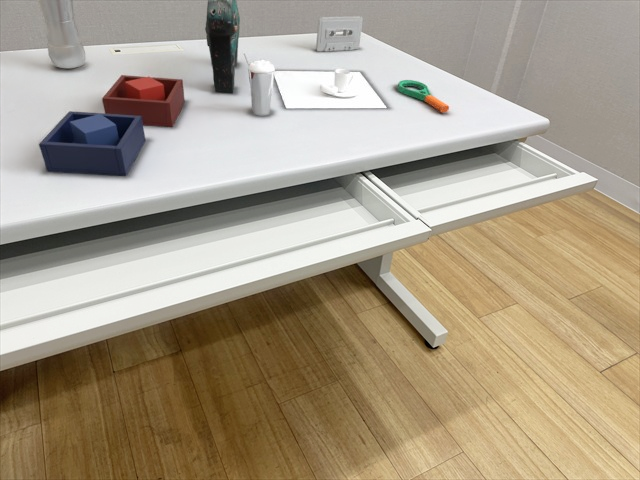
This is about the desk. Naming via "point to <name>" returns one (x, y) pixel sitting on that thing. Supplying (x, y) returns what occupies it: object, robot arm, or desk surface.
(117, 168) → the blue bin
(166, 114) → the red bin
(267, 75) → the milkshake
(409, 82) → the magnifying glass
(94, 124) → the blue block
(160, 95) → the red block
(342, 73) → the teacup and saucer
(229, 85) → the power drill
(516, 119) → the desk surface
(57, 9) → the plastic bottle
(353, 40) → the cassette
